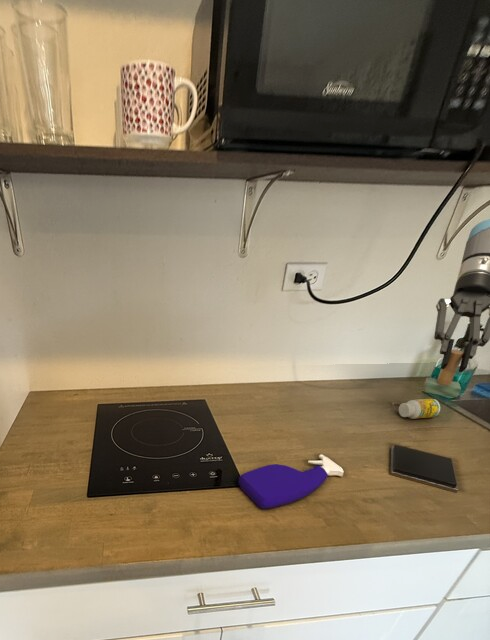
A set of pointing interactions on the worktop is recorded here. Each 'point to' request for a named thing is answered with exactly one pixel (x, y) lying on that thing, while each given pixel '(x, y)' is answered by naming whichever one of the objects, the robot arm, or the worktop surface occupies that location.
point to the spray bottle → (285, 482)
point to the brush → (446, 378)
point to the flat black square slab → (423, 468)
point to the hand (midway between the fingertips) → (453, 367)
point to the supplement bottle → (420, 408)
